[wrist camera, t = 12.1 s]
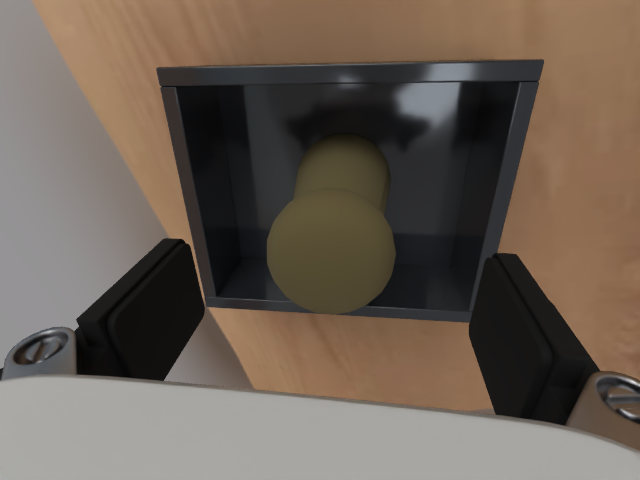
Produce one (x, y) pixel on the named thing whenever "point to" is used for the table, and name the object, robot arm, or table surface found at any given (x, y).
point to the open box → (367, 122)
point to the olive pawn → (335, 228)
